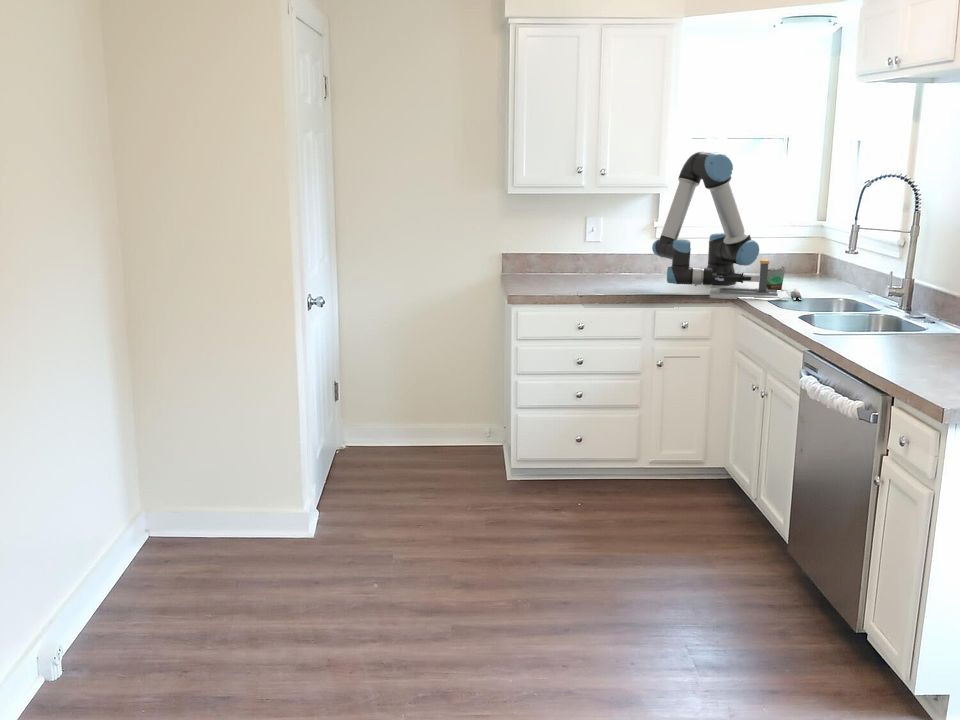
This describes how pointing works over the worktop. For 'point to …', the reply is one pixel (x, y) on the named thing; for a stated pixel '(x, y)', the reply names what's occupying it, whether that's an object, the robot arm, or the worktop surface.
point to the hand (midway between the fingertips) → (758, 278)
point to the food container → (775, 278)
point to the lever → (763, 276)
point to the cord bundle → (795, 294)
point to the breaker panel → (744, 293)
